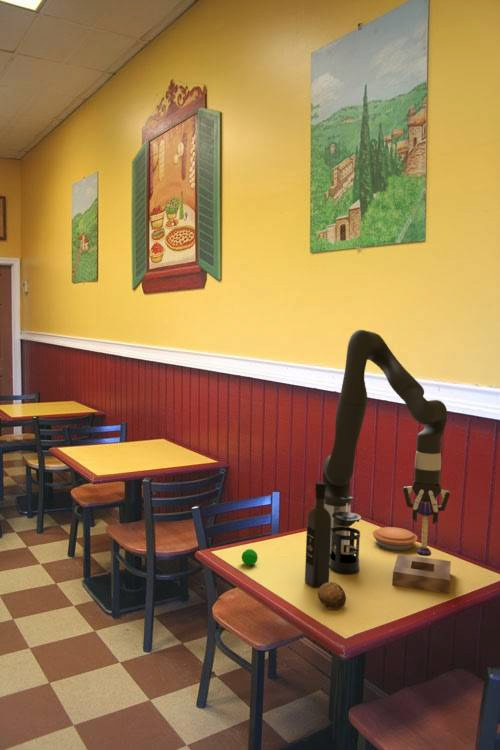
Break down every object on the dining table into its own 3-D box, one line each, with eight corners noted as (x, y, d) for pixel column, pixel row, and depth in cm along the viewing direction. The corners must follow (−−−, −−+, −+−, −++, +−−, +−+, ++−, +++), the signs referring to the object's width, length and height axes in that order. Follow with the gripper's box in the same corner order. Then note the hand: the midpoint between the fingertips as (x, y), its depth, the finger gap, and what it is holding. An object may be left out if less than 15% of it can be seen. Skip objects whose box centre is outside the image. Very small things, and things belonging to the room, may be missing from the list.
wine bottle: (313, 588, 176) (318, 486, 174) (303, 581, 181) (307, 481, 179) (330, 585, 179) (334, 484, 177) (319, 578, 184) (323, 480, 182)
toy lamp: (432, 557, 183) (434, 502, 182) (415, 555, 184) (418, 501, 183) (430, 551, 188) (433, 498, 186) (414, 550, 188) (417, 497, 187)
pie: (364, 546, 214) (365, 532, 214) (382, 535, 227) (382, 521, 226) (407, 556, 205) (408, 541, 205) (423, 544, 218) (423, 530, 218)
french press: (366, 568, 193) (369, 496, 191) (352, 577, 185) (355, 502, 184) (333, 559, 200) (336, 490, 198) (318, 567, 193) (321, 495, 191)
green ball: (239, 562, 195) (240, 547, 195) (254, 561, 196) (254, 546, 196) (244, 568, 190) (244, 553, 190) (259, 566, 192) (259, 552, 191)
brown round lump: (313, 586, 170) (323, 573, 167) (338, 596, 171) (349, 583, 168) (311, 610, 164) (322, 597, 160) (338, 621, 165) (349, 608, 161)
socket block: (392, 584, 181) (392, 571, 181) (397, 565, 196) (398, 553, 196) (449, 593, 176) (449, 580, 176) (450, 573, 191) (450, 561, 191)
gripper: (402, 466, 182) (399, 522, 184) (452, 471, 178) (449, 529, 179) (404, 461, 190) (401, 516, 191) (452, 466, 185) (449, 521, 186)
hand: (424, 522), depth 185 cm, fingers closed on toy lamp, 4 cm apart
